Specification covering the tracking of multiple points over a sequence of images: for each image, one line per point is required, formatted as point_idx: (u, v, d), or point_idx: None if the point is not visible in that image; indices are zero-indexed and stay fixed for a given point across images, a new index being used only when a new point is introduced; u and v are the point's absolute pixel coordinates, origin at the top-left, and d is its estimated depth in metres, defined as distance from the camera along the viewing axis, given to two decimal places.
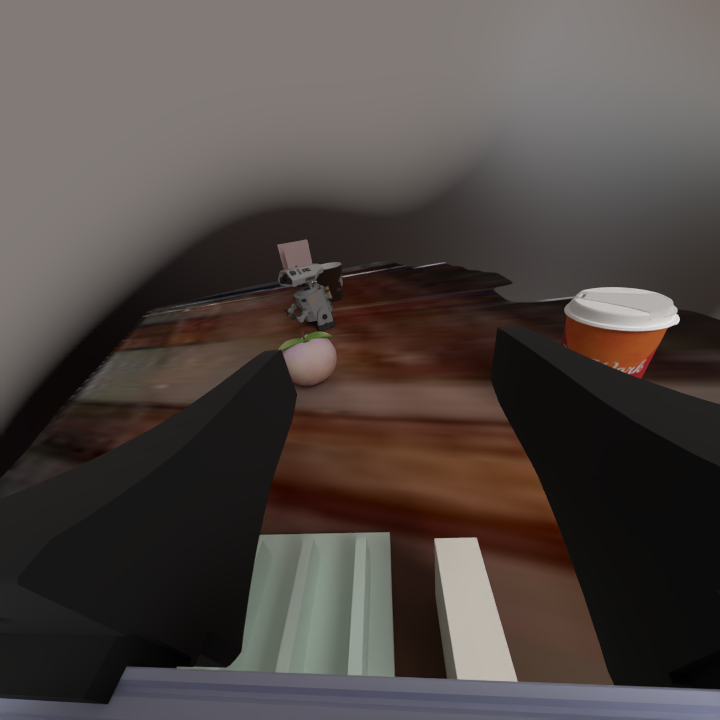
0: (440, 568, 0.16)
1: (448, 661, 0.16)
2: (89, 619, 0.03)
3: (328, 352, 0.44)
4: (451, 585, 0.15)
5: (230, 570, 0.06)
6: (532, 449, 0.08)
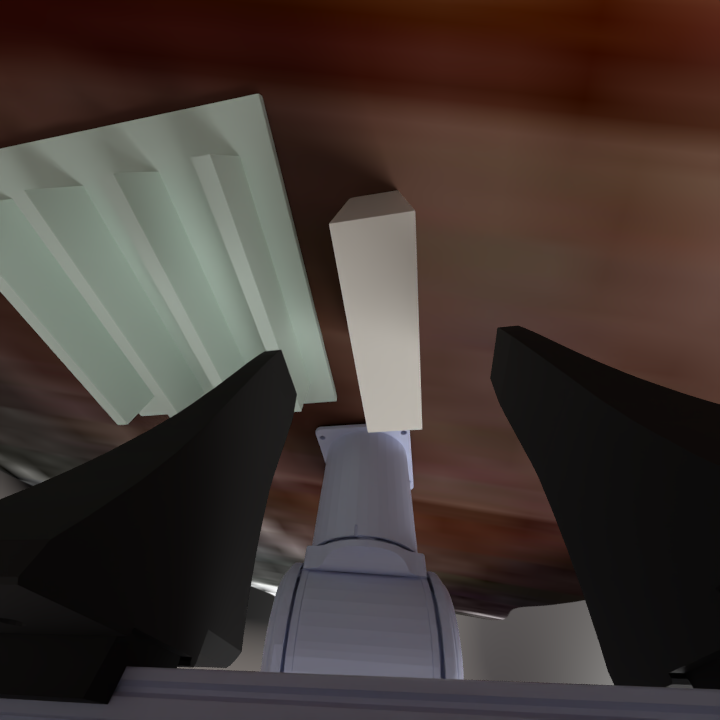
0: (340, 277, 0.09)
1: None
2: (88, 618, 0.03)
3: None
4: (357, 299, 0.10)
5: (230, 570, 0.06)
6: (532, 449, 0.08)
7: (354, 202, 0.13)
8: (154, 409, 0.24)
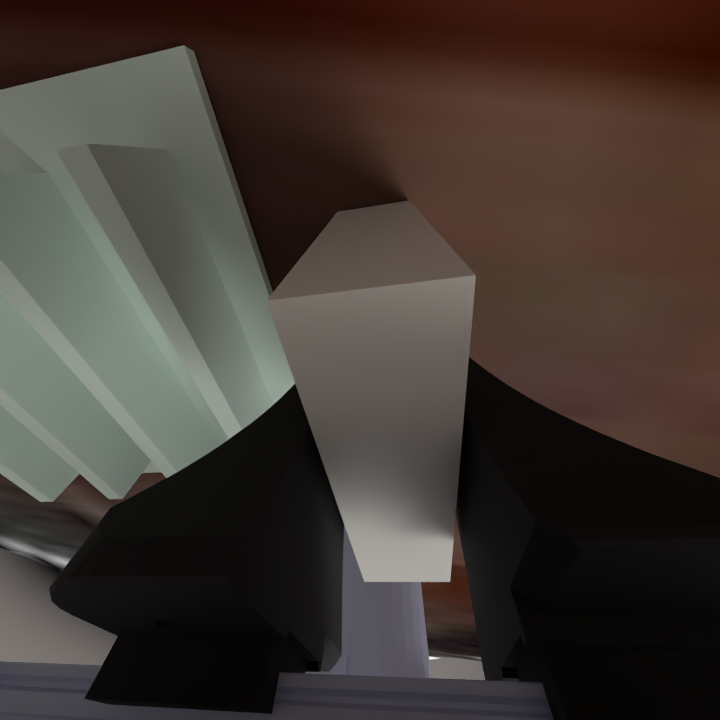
0: (304, 398, 0.04)
1: None
2: (266, 621, 0.03)
3: None
4: (341, 432, 0.05)
5: (332, 569, 0.06)
6: None
7: (341, 223, 0.08)
8: None
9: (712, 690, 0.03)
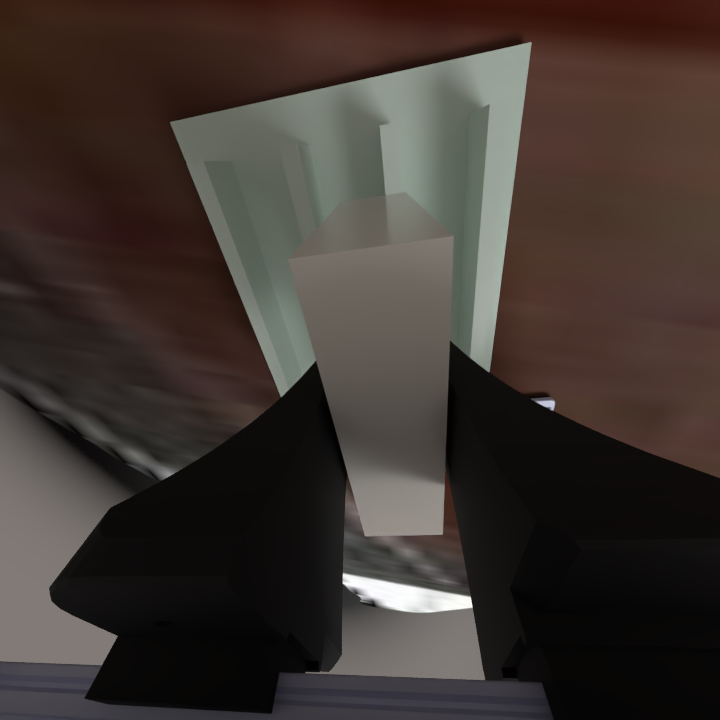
0: (315, 347, 0.05)
1: None
2: (265, 621, 0.03)
3: None
4: (346, 379, 0.06)
5: (332, 569, 0.06)
6: None
7: (344, 210, 0.09)
8: None
9: (712, 690, 0.03)
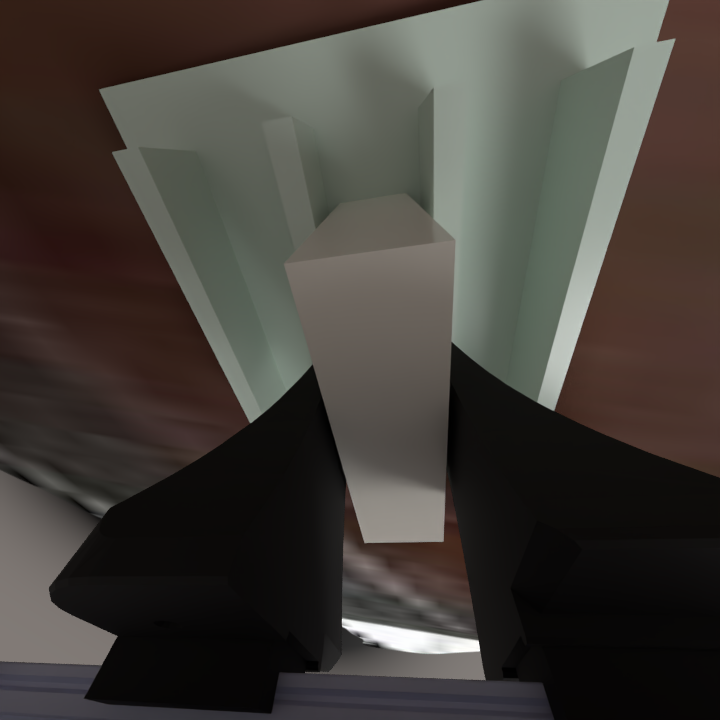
0: (313, 353, 0.05)
1: None
2: (265, 621, 0.03)
3: None
4: (344, 386, 0.06)
5: (331, 570, 0.06)
6: None
7: (343, 211, 0.09)
8: None
9: (712, 690, 0.03)
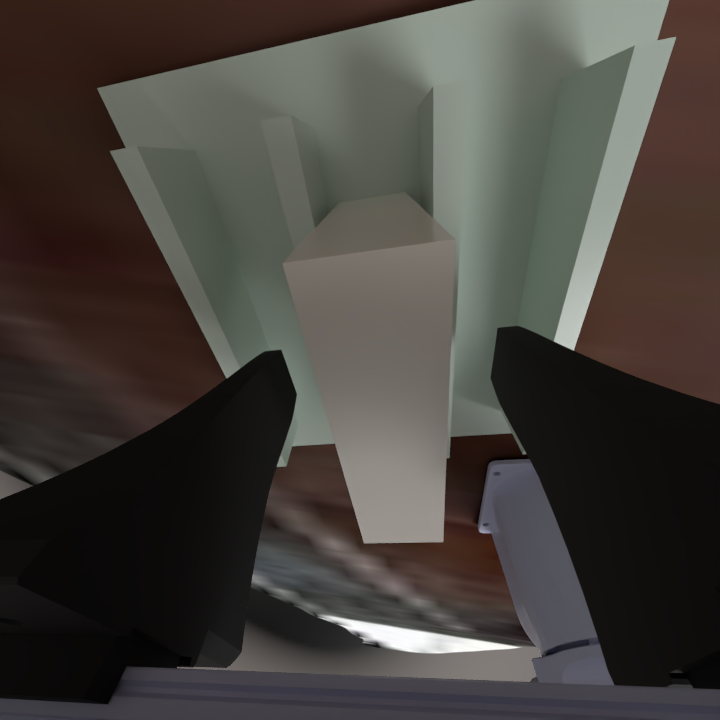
0: (312, 353, 0.05)
1: None
2: (89, 618, 0.03)
3: None
4: (343, 386, 0.06)
5: (230, 570, 0.06)
6: (532, 449, 0.08)
7: (343, 211, 0.08)
8: None
9: None
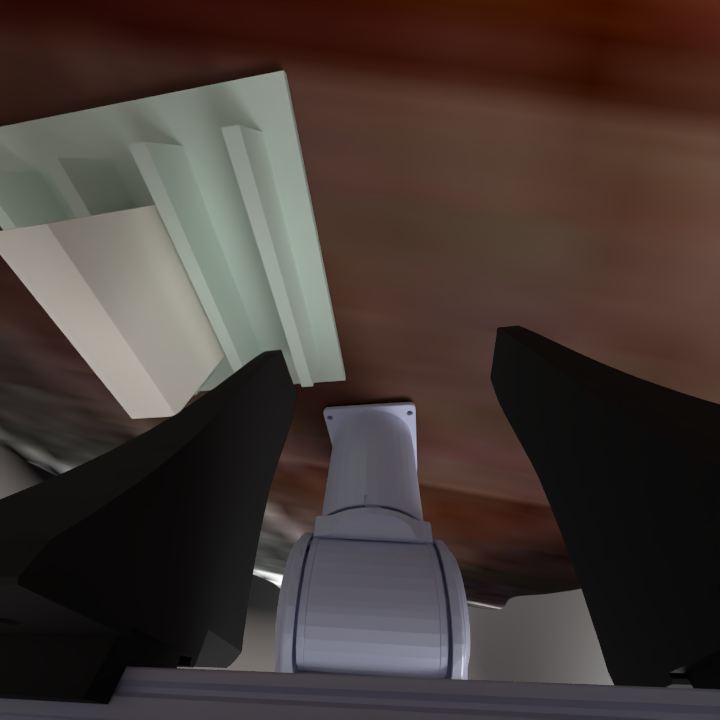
0: (21, 279, 0.11)
1: None
2: (89, 618, 0.03)
3: None
4: (47, 298, 0.11)
5: (230, 570, 0.06)
6: (532, 449, 0.08)
7: None
8: None
9: None
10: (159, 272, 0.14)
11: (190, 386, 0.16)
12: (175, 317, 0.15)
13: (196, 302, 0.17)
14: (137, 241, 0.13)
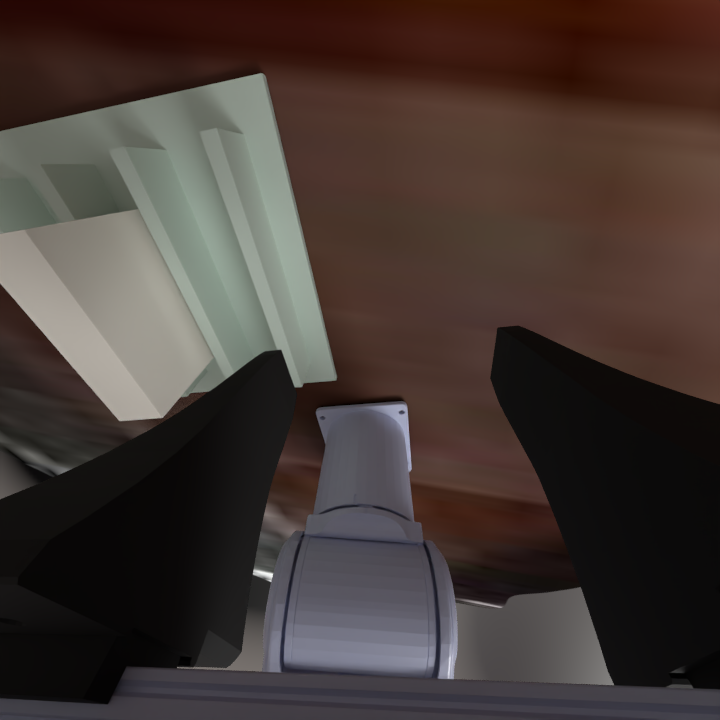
0: (3, 285, 0.11)
1: None
2: (89, 619, 0.03)
3: None
4: (29, 303, 0.11)
5: (230, 570, 0.06)
6: (532, 449, 0.08)
7: None
8: None
9: None
10: (144, 275, 0.14)
11: (177, 388, 0.16)
12: (161, 320, 0.15)
13: (183, 305, 0.17)
14: (120, 245, 0.13)
